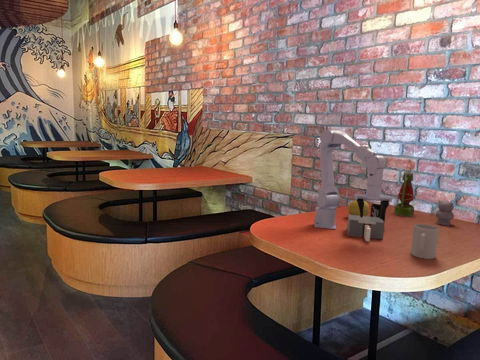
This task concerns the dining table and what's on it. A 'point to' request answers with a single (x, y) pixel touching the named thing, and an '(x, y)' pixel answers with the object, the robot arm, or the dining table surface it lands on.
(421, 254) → the mug
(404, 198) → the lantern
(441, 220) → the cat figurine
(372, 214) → the beverage can
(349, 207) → the fruit
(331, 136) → the robot arm
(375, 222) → the panel
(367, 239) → the pale narrow strip
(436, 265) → the dining table surface
